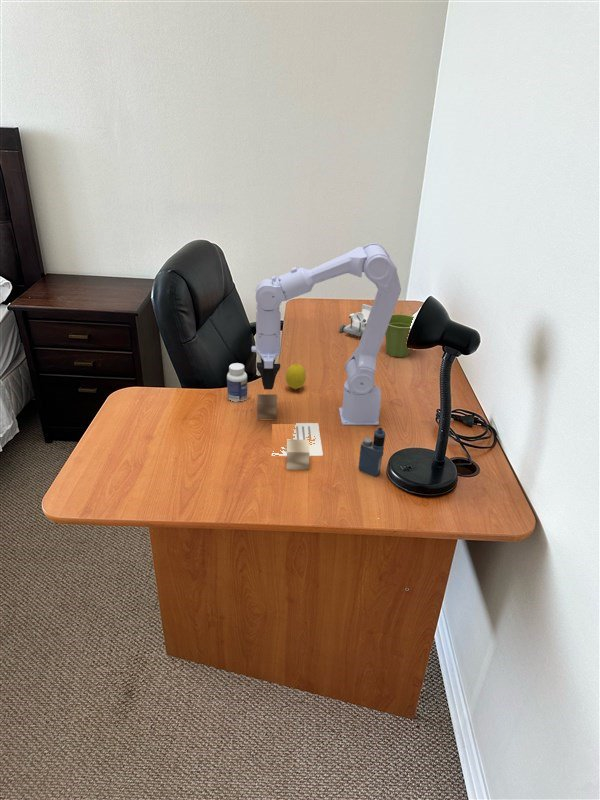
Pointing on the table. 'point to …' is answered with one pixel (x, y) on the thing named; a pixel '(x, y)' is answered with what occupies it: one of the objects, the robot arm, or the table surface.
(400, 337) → the plant pot
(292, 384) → the lemon
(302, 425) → the letter
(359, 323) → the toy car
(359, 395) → the robot arm
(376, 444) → the vaping device
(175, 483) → the table surface
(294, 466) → the beech block
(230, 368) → the pill bottle
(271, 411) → the walnut block
